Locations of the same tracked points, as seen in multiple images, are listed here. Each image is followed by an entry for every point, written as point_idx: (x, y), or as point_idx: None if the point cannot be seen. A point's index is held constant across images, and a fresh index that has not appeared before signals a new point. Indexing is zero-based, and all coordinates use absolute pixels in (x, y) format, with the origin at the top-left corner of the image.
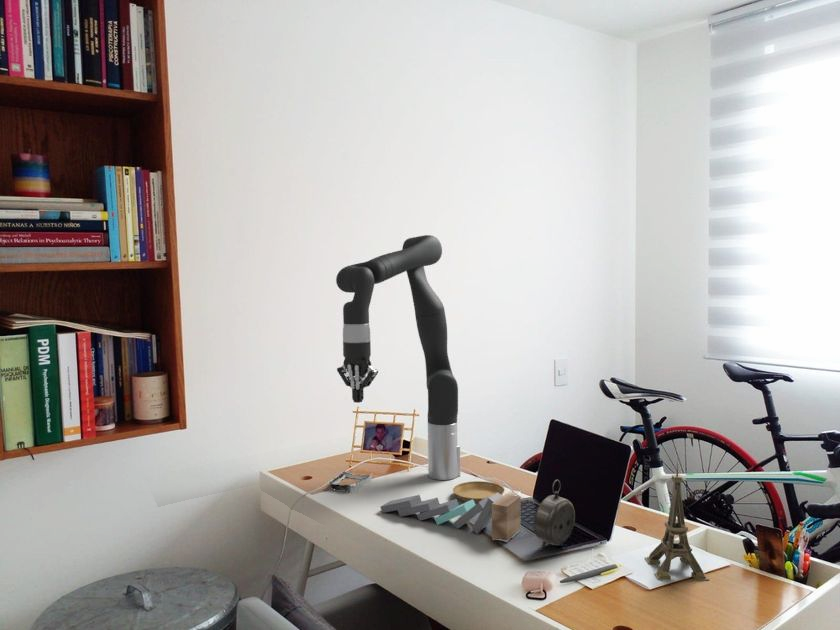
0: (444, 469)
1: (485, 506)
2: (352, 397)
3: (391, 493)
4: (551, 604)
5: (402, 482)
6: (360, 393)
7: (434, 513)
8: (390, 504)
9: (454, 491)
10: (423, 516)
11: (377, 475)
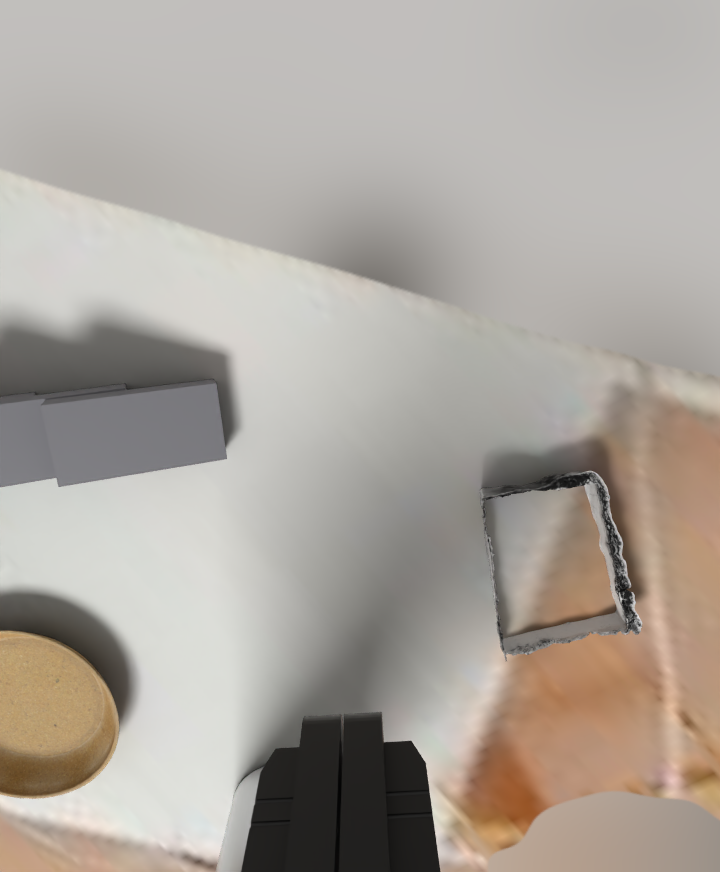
0: (243, 809)
1: None
2: (421, 772)
3: (330, 567)
4: None
5: (375, 681)
6: (244, 862)
7: None
8: (157, 390)
9: (90, 667)
10: (4, 398)
11: (515, 694)
